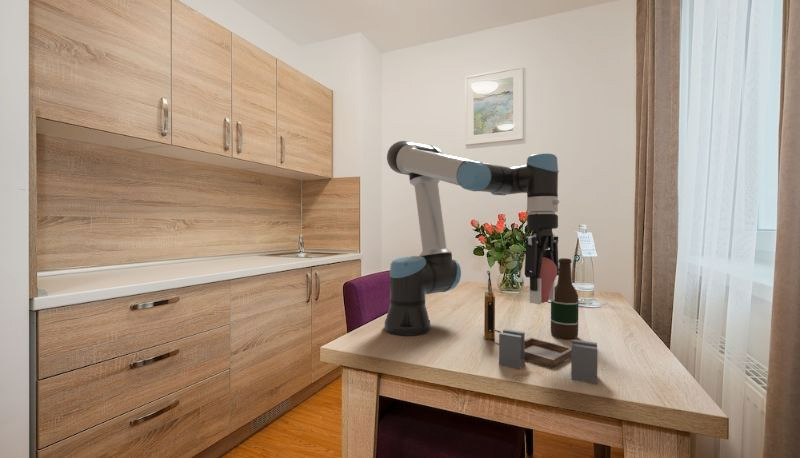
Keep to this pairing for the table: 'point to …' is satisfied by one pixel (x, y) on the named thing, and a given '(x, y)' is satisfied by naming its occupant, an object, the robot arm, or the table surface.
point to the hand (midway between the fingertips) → (542, 301)
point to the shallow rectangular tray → (546, 352)
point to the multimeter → (489, 313)
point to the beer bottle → (564, 304)
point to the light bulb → (547, 277)
